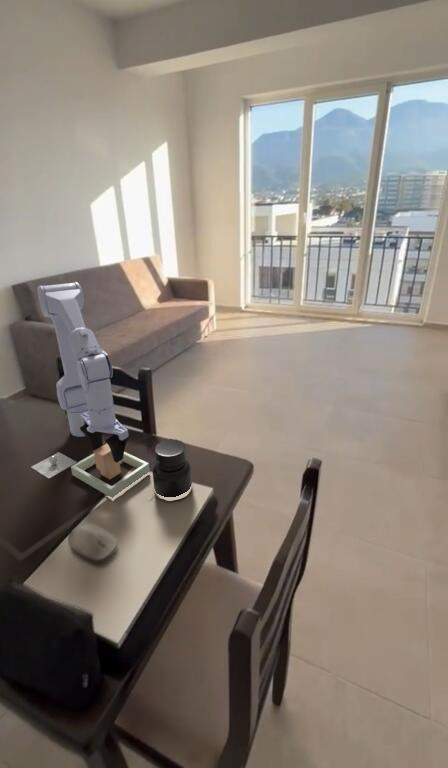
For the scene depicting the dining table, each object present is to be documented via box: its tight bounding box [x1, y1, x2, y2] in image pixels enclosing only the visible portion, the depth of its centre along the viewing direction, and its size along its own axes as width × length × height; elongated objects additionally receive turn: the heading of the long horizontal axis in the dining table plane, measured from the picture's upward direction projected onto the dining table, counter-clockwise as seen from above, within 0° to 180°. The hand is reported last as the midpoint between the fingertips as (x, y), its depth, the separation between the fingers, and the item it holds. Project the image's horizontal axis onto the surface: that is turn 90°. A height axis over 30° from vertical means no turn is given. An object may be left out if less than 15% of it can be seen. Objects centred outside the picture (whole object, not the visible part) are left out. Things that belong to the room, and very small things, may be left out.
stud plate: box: [30, 451, 78, 479], centre depth 99 cm, size 8×8×4 cm
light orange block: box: [93, 443, 124, 480], centre depth 95 cm, size 3×5×8 cm, turn 144°
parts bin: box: [70, 451, 151, 498], centre depth 96 cm, size 12×15×4 cm
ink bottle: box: [152, 439, 193, 497], centre depth 89 cm, size 10×9×12 cm
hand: (108, 454), depth 94 cm, fingers open, 7 cm apart
